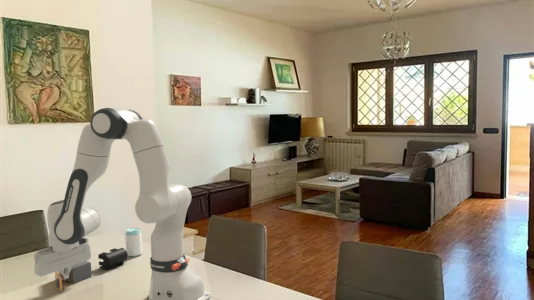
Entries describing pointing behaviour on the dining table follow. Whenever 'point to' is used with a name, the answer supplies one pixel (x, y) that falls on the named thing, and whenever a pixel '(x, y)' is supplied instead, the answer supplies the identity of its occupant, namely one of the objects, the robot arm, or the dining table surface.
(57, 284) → the door
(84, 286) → the dining table surface
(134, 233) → the can
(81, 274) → the block
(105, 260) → the black ridged cylinder
